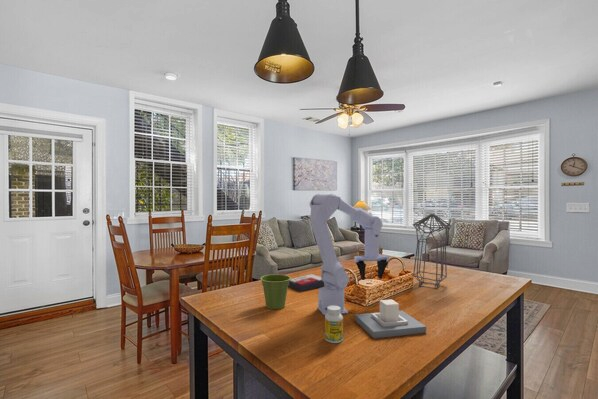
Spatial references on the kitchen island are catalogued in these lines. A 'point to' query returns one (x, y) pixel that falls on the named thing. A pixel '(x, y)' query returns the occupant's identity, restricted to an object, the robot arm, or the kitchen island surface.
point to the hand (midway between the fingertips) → (371, 278)
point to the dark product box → (306, 282)
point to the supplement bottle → (333, 324)
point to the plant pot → (275, 290)
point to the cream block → (389, 310)
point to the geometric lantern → (431, 242)
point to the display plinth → (389, 325)
